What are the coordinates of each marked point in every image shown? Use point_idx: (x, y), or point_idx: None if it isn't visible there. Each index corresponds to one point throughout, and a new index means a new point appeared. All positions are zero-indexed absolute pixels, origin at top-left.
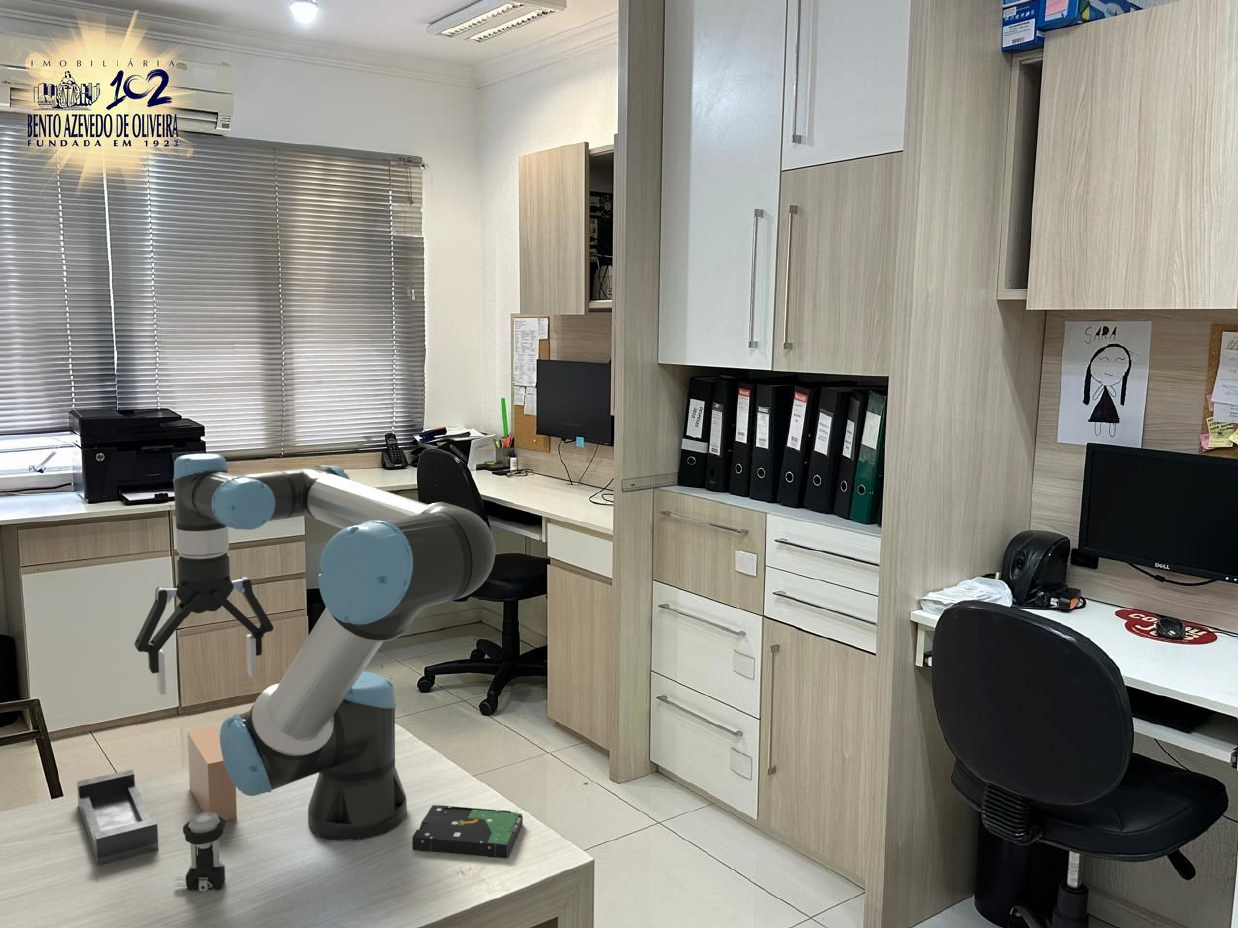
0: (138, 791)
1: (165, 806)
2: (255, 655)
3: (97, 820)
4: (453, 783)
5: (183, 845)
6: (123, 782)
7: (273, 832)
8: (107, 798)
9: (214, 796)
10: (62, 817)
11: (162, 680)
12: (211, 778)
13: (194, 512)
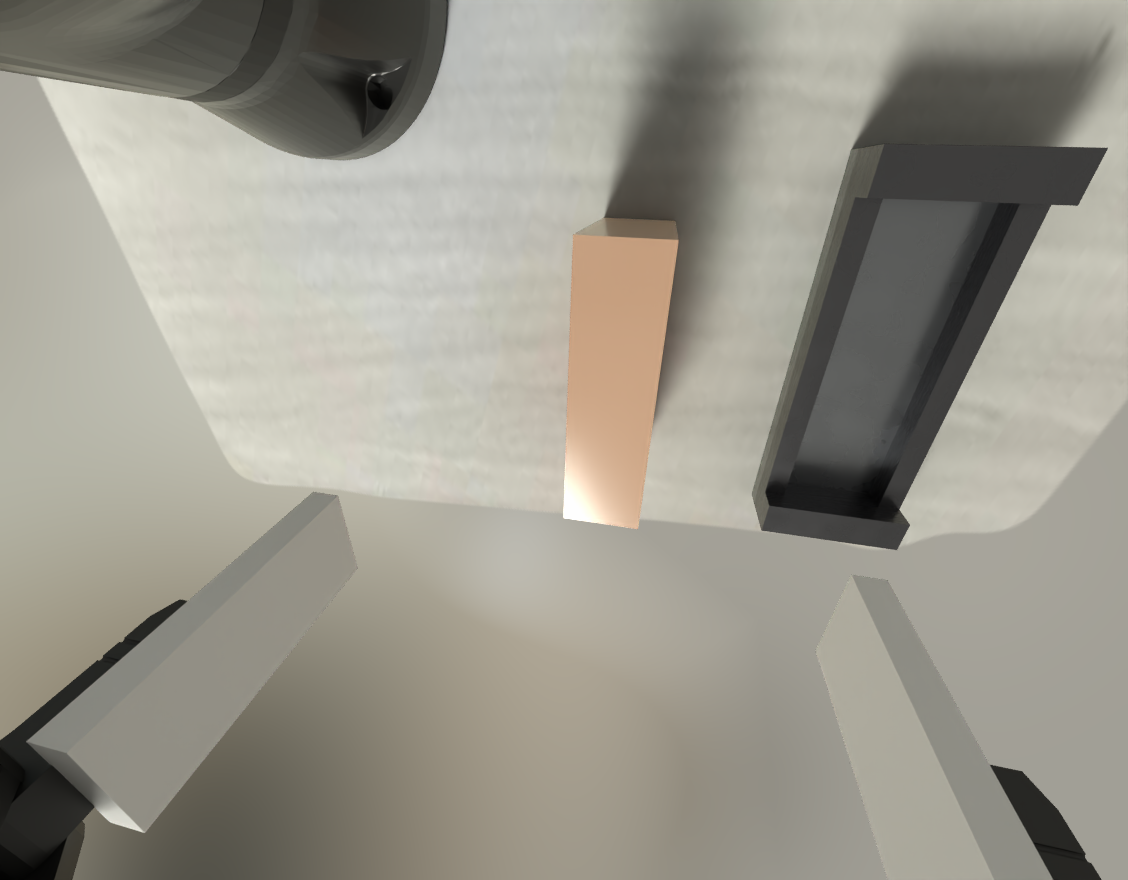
0: (779, 444)
1: (724, 388)
2: (195, 596)
3: (905, 393)
4: None
5: (785, 127)
6: (792, 499)
7: (546, 42)
8: (825, 484)
9: (659, 226)
10: (931, 478)
11: (916, 666)
12: (666, 233)
13: None
